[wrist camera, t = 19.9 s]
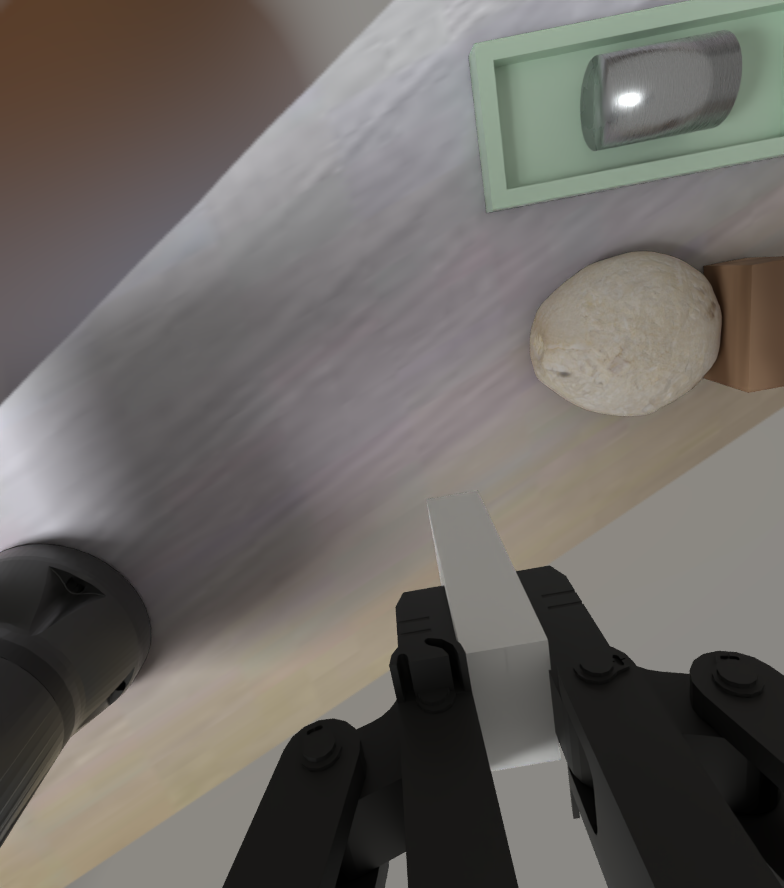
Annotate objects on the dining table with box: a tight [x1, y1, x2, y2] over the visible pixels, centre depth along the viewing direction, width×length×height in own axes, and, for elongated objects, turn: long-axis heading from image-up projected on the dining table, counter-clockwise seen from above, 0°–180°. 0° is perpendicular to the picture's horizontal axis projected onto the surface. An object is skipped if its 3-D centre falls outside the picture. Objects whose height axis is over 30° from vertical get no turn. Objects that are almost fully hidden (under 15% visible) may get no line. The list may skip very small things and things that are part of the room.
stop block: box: [704, 256, 784, 393], centre depth 36 cm, size 3×8×5 cm, turn 10°
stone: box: [530, 251, 722, 416], centre depth 36 cm, size 13×10×8 cm
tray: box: [469, 0, 784, 213], centre depth 33 cm, size 20×9×2 cm, turn 100°
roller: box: [580, 30, 742, 151], centre depth 31 cm, size 5×7×5 cm
